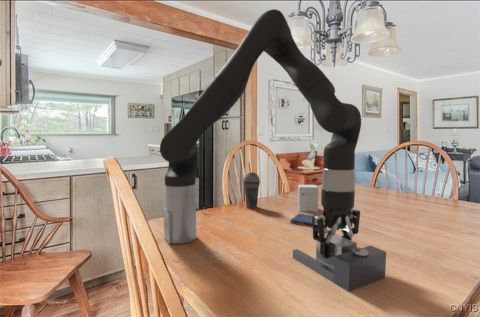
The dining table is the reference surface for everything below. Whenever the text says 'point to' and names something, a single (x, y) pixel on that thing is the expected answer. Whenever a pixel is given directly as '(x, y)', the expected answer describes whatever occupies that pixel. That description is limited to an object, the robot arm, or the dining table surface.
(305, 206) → the small box
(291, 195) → the dining table surface
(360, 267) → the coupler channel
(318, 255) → the block
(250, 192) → the beverage cup
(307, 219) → the woven mat
